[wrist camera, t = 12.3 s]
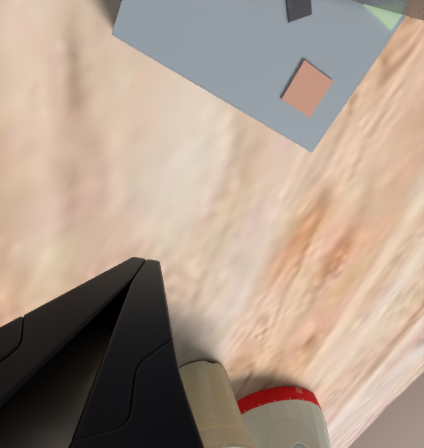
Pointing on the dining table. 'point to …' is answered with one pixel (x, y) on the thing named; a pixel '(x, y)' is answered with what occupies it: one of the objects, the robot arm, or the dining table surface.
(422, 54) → the dining table surface
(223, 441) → the flower pot
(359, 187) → the dining table surface
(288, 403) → the grey and red dome
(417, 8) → the gray pivoting panel
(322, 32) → the gray square base
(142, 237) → the dining table surface
